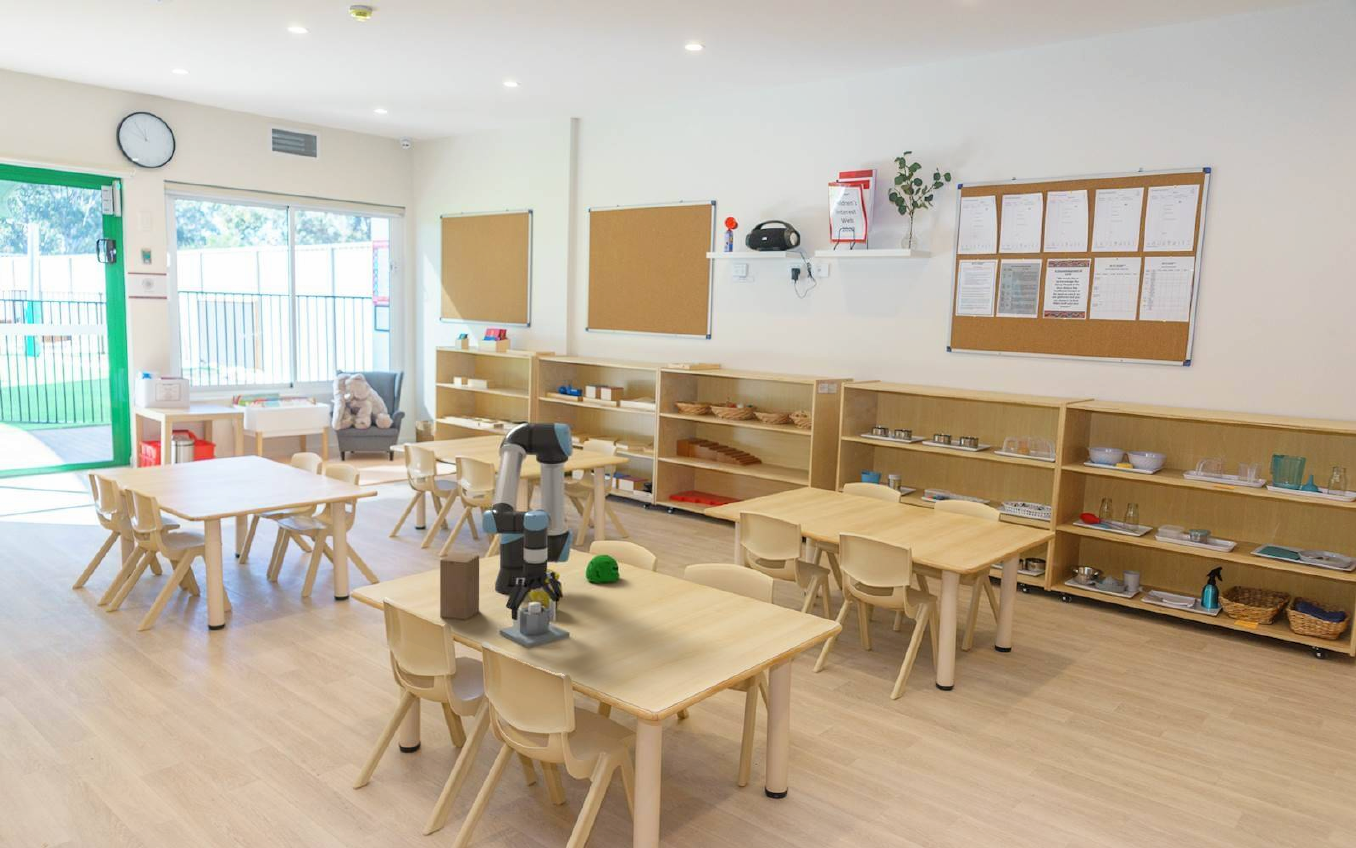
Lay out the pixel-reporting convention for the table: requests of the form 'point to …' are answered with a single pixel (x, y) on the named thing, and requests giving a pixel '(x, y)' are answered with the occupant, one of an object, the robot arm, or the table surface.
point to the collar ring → (534, 622)
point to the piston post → (532, 641)
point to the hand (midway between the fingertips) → (534, 624)
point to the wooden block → (459, 586)
